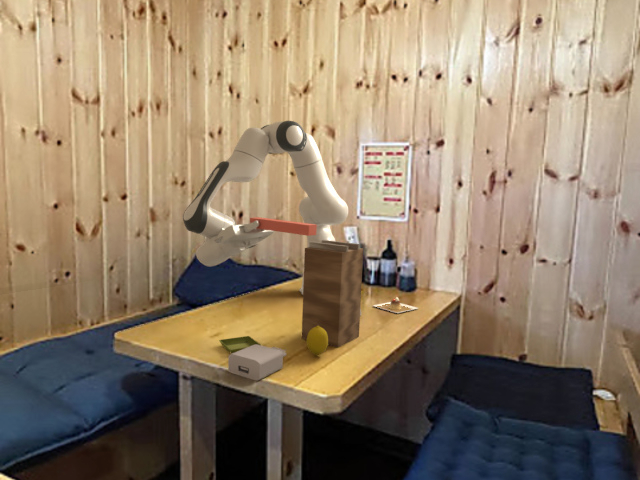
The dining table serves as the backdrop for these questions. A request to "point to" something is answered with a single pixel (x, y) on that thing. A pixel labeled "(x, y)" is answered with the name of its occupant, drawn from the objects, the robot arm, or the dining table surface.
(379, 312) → the dining table surface
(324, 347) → the lemon
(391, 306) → the dessert
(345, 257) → the wooden knife block
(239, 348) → the green square tray
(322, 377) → the dining table surface
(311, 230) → the salmon red bar
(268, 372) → the charger
